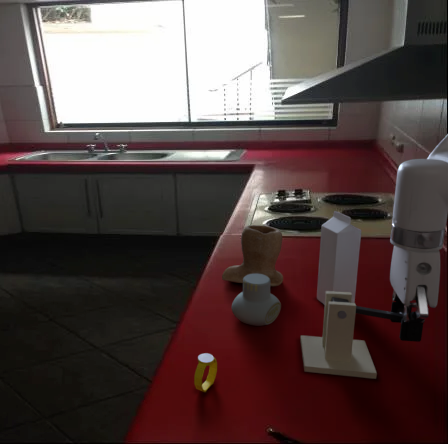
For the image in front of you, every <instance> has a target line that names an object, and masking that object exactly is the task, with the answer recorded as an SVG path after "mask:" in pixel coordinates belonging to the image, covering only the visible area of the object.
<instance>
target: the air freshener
mask: <svg viewBox="0 0 448 444" xmlns="http://www.w3.org/2000/svg"><path fill="white" fill-rule="evenodd" d="M281 309H282V303H281V302H280V300H279V298H278V297H277V296H275V295H274V294H273V293H271V286H270V279H269V278H268V277H267V276H266V275H263V274H249V275H246V276H245V277H244V278H243V283H242V291H241V292H240V293H238V294H237V295H236V297H235V298H234V300H233V301H232V303H231V312H232V314H233V316H234V317H235V318H236V319H238V320H239V321H240V322H241V323H244V324H246V325H249V326H255V327H261V326H263V327H264V326H268V325H270V324H272V323H273V322H274V321H275V320H276V319H277V318H278V316H279V314H280V312H281Z"/></svg>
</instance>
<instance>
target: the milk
mask: <svg viewBox="0 0 448 444" xmlns="http://www.w3.org/2000/svg"><path fill="white" fill-rule="evenodd" d="M351 223H352V218H351V217H350V216H348V215H346V214H344V213H342V212H339V211H337V210H334V211H333V215H332V217H331V218H329V219H328V220H327V221H326V222H324V223H323V224H321V227H320V228H321V229H320V242H319V243H320V244H319V258H318V259H319V260H318V275H317V290H316V300H318V301H319V302H320V303H322V304H323V305H324V306H325V294H326V291H335V292H351V294H352V300H351V303H356V302H355V301H356V300H355V299H356V292H357V291H356V290H357V281H358V270H359V260H360V249H361V238H362V229H361V228H359V227H357V226H355V225H353V224H351Z"/></svg>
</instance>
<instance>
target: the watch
mask: <svg viewBox="0 0 448 444" xmlns="http://www.w3.org/2000/svg"><path fill="white" fill-rule="evenodd" d="M217 361H218V360H217V358H216V357H214V356H213V354H212V353H208V352H205V353H200V354H199V355H198V356H197V363H198V364H197V366H196V368H195V372H194V377H193V378H194V379H193V380H194V381H193V384H194V387H195V389H196V390H198V391H201V392H203V393H207V391H208V389H210V387H212V385H213V384H214V382H215V379H216V376H217V372H218V362H217ZM207 366H209V369H208V373H207V377H206V379H205V381H204V382H203V378H204V377H203V376H204V373H205V370H206V368H207Z"/></svg>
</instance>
